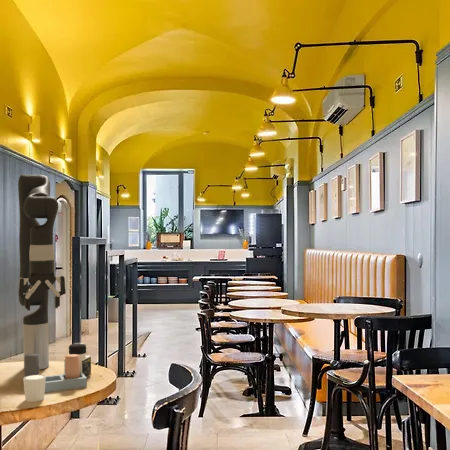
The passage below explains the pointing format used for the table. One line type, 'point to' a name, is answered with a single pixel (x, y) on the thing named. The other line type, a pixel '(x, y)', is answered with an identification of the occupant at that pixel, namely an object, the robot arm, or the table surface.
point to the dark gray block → (31, 364)
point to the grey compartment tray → (67, 376)
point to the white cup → (34, 387)
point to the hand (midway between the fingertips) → (42, 309)
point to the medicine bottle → (81, 358)
